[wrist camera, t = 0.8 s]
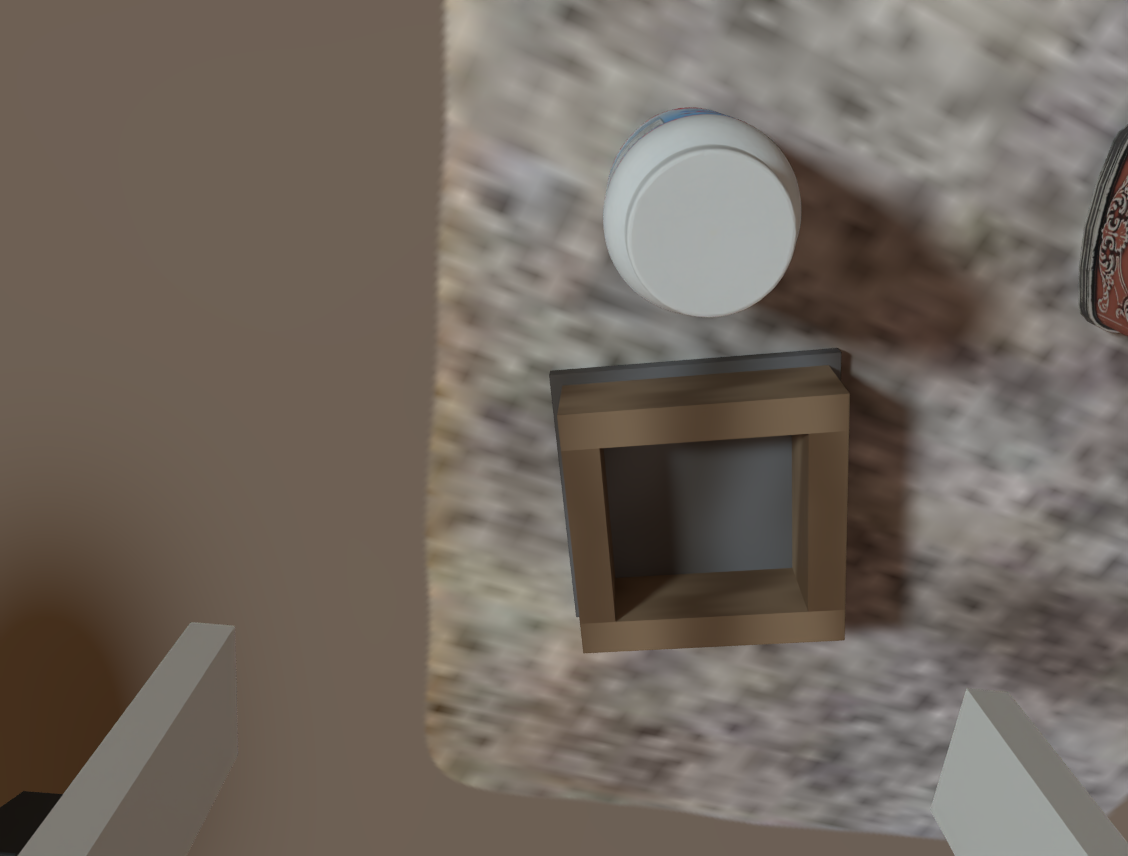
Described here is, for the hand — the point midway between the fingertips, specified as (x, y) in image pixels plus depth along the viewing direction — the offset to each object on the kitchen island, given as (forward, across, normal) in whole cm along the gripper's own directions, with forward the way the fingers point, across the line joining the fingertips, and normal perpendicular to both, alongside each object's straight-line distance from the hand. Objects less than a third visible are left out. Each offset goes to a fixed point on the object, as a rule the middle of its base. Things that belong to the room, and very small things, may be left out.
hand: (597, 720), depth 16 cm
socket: (+23, +6, -4) cm, 24 cm away
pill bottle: (+22, +3, +8) cm, 24 cm away
